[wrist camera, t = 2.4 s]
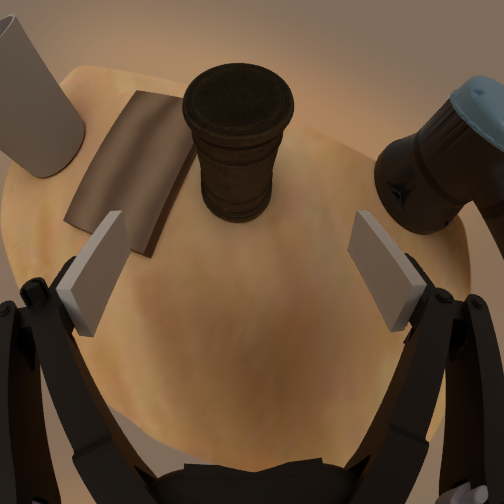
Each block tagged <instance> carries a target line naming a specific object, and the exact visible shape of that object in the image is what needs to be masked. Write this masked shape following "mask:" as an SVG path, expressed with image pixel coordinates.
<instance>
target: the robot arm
mask: <svg viewBox="0 0 504 504" xmlns="http://www.w3.org/2000/svg"><path fill="white" fill-rule="evenodd" d="M374 174H375V184H376V188H377V191H378V194H379V197H380V199H381V201H382V203H383V205H384V206H385V208H386V209H387V211H388V212H389V214H390V215H391V216H392V217H393V218H394V219H395V220H396V221H397V222H398V223H399V224H400V225H401V226H403V227H404V228H406V229H407V230H409V231H411V232H414V233H417V234H423V235H427V234H432V233H435V232H437V231H439V230H442V229H443V228H445V227H446V226H448V225H449V224H450V223H451V221H452V220H453V219H454V217H455V216H456V215H457V214H458V213H459V211H460V210H461V209H462V207H463V206H464V205H465V204H467V203H468V202H470V201H472V200H473V201H474V203H475V205H476V206H477V208H478V210H479V211H480V213H481V215H482V217H483V219H484V220H485V222H486V224H487V226H488V228H489V230H490V232H491V234H492V236H493V238H494V240H495V242H496V244H497V246H498V248H499V250H500V253H501V255H502V257H503V259H504V86H503V85H502V84H500V83H499V82H497V81H495V80H493V79H491V78H488V77H486V76H474V77H471V78H470V79H468V80H467V81H466V82H465V83H464V84H463V85H462V86H461V87H460V88H459V89H457V90H455V91H453V92H452V94H451V96H450V98H449V99H448V100H447V102H446V103H445V104H444V105H443V106H442V107H441V108H440V109H439V110H438V111H437V112H436V113H435V114H434V115H433V117H432V118H431V119H430V120H429V121H428V122H427V123H426V124H425V125H424V126H423V127H422V128H421V129H420V130H419V131H418V132H417V133H415V134H412V135H410V136H408V137H405V138H403V139H399V140H396V141H394V142H392V143H391V144H389V145H388V146H387V147H386V148H385V149H384V150H383V152H382V153H381V154H380V155H379V157H378V159H377V161H376V165H375V173H374ZM348 252H349V253H350V255H351V257H352V259H353V261H354V262H355V264H356V266H357V268H358V270H359V272H360V273H361V275H362V277H363V279H364V281H365V283H366V285H367V286H368V288H369V290H370V292H371V294H372V296H373V298H374V300H375V302H376V304H377V306H378V308H379V310H380V312H381V314H382V316H383V318H384V320H385V322H386V324H387V326H388V328H389V330H390V332H396V331H402V330H404V329H405V327H406V325H407V323H408V322H410V324H411V326H412V328H411V330H410V332H409V333H408V335H407V337H406V339H405V340H404V342H403V343H404V344H405V346H404V349H403V352H402V354H401V357H400V360H399V362H398V365H397V367H396V370H395V372H394V375H393V377H392V380H391V382H390V385H389V387H388V389H387V392H386V394H385V396H384V398H383V401H382V403H381V405H380V407H379V409H378V411H377V413H376V415H375V417H374V419H373V421H372V423H371V425H370V427H369V429H368V431H367V433H366V435H365V437H364V439H363V441H362V442H361V444H360V446H359V448H358V449H357V451H356V452H355V454H354V455H353V456H352V458H351V459H350V460H349V461H348V463H347V464H346V466H345V467H344V468H342V467H339V466H335V465H331V464H324V463H323V462H322V458H316V459H309V460H302V461H294V462H288V463H285V464H282V465H279V466H276V467H272V468H269V469H266V470H262V471H259V472H247V471H242V470H237V469H233V468H228V467H224V466H220V465H200V464H184V469H182V470H177V471H174V472H170V473H168V474H165V475H163V476H161V477H159V478H157V477H156V476H155V474H154V473H153V472H152V471H151V470H150V468H149V467H148V466H147V465H146V464H145V463H144V462H143V460H142V459H141V458H140V457H139V456H138V454H137V453H136V451H135V450H134V448H133V447H132V445H131V444H130V442H129V441H128V439H127V438H126V436H125V435H124V433H123V431H122V430H121V428H120V427H119V425H118V423H117V422H116V420H115V418H114V417H113V415H112V413H111V412H110V410H109V408H108V407H107V405H106V403H105V401H104V399H103V397H102V396H101V394H100V392H99V390H98V388H97V386H96V384H95V382H94V380H93V378H92V376H91V374H90V372H89V370H88V368H87V366H86V364H85V361H84V359H83V357H82V355H81V353H80V350H79V348H78V346H77V343H76V341H75V338H74V337H73V335H72V332H73V329H74V327H75V329H76V330H77V332H78V334H79V336H86V337H94V334H95V332H96V329H97V327H98V324H99V322H100V319H101V317H102V314H103V312H104V310H105V307H106V305H107V302H108V300H109V298H110V296H111V293H112V291H113V289H114V287H115V284H116V282H117V280H118V278H119V276H120V273H121V271H122V269H123V267H124V265H125V263H126V261H127V259H128V257H129V255H130V253H131V250H130V246H129V242H128V237H127V232H126V228H125V223H124V218H123V212H122V210H121V211H110V212H109V213H108V215H107V216H106V217H105V218H104V220H103V221H102V222H101V224H100V225H99V226H98V228H97V229H96V230H95V232H94V233H93V234H92V236H91V237H90V238H89V240H88V241H87V243H86V244H85V245H84V247H83V248H82V250H81V251H80V253H79V254H78V255H77V256H73V257H72V258H71V259H69V260H68V261H67V262H66V263H65V264H64V266H63V267H62V269H61V271H60V272H59V273H58V276H56V278H55V279H54V281H53V282H52V284H51V285H50V287H49V288H48V286H47V284H46V282H45V280H44V279H43V278H41V277H37V278H33V279H30V280H29V281H27V282H26V283H25V284H24V285H23V286H22V288H21V289H20V295H21V297H22V299H23V301H24V303H25V305H26V306H27V307H23V308H17V306H16V305H15V303H14V302H13V301H5V302H3V303H1V304H0V504H61V497H60V493H59V489H58V485H57V481H56V477H55V473H54V469H53V465H52V460H51V456H50V451H49V446H48V440H47V434H46V428H45V421H44V412H43V404H42V392H41V375H40V364H41V368H42V371H43V374H44V377H45V380H46V384H47V387H48V390H49V393H50V395H51V398H52V401H53V404H54V406H55V409H56V411H57V414H58V416H59V419H60V421H61V424H62V426H63V428H64V431H65V433H66V435H67V437H68V439H69V442H70V444H71V446H72V448H73V450H74V455H73V456H72V460H73V463H74V465H75V467H76V469H77V471H78V473H79V475H80V477H81V478H82V480H83V482H84V484H85V485H86V487H87V489H88V490H89V492H90V493H91V495H92V497H93V499H94V500H95V502H96V503H97V504H405V502H406V500H407V498H408V496H409V494H410V492H411V490H412V488H413V486H414V484H415V482H416V479H417V477H418V475H419V472H420V470H421V467H422V465H423V462H424V460H425V457H426V455H427V452H428V448H429V442H428V441H426V434H427V431H428V428H429V425H430V422H431V419H432V416H433V412H434V409H435V406H436V402H437V398H438V395H439V391H440V387H441V383H442V379H443V374H444V370H445V377H446V410H445V431H444V444H443V454H442V462H441V469H440V478H439V497H438V499H437V500H436V502H435V504H504V373H503V367H502V362H501V357H500V352H499V347H498V343H497V339H496V335H495V331H494V327H493V323H492V319H491V316H490V312H489V309H488V306H487V304H486V302H485V301H484V300H483V299H482V298H481V297H480V296H477V295H475V294H469V295H468V296H467V298H466V300H465V301H464V302H462V301H457V300H454V298H453V296H452V295H451V294H450V293H449V292H448V291H446V290H445V289H442V288H436V287H435V286H434V284H433V283H432V281H431V280H430V279H429V277H428V276H427V275H426V273H425V272H423V269H422V268H421V267H419V264H418V263H417V262H416V260H415V259H414V258H413V257H411V256H410V255H409V254H407V253H403V252H402V250H401V249H400V248H399V247H398V245H397V244H396V243H395V242H394V240H393V239H392V238H391V237H390V235H389V234H388V233H387V232H386V230H385V229H384V228H383V227H382V226H381V224H380V223H379V222H378V221H377V220H376V218H375V217H374V216H373V215H372V214H371V213H370V211H369V210H357V211H356V216H355V221H354V225H353V230H352V234H351V239H350V243H349V247H348Z"/></svg>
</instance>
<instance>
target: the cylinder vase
mask: <svg viewBox="0 0 504 504" xmlns="http://www.w3.org/2000/svg"><path fill="white" fill-rule="evenodd" d="M84 130H85V128H84V122H83V120H82V118H81V117H80V115H79V114H78V112H77V111H76V110H75V108H74V107H73V105H72V104H71V102H70V101H69V100H68V98H67V97H66V95H65V94H64V92H63V91H62V89H61V88H60V86H59V85H58V83H57V82H56V80H55V79H54V77H53V76H52V74H51V73H50V71H49V70H48V68H47V67H46V65H45V64H44V62H43V61H42V59H41V57H40V56H39V54H38V53H37V51H36V49H35V48H34V46H33V45H32V43H31V41H30V40H29V38H28V36H27V35H26V33H25V31H24V30H23V28H22V26H21V24H20V23H19V21H18V19H17V17H16V16H15V14H10V15H8V16H6V17H4V18H2V19H1V20H0V150H1V151H2V152H4V153H5V154H6V155H7V156H9V157H10V158H11V159H12V160H14V161H15V162H16V163H17V164H19V165H20V166H21V167H22V168H24V169H25V170H26V171H28V172H29V173H30V174H32V175H33V176H35V177H41V178H42V177H48V176H51V175H53V174H55V173H57V172H58V171H60V170H61V169H63V168H64V167H65V166H66V165H67V164H68V163H69V162H70V161H71V160H72V158H73V157H74V156H75V154H76V153H77V151H78V149H79V148H80V146H81V143H82V140H83V137H84Z"/></svg>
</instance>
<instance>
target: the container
mask: <svg viewBox="0 0 504 504" xmlns="http://www.w3.org/2000/svg"><path fill="white" fill-rule="evenodd" d="M182 112H183V116H184V119H185V122H186V123H187V125H188V127H189V128H190V129H191V131H192V139H193V142H194V145H195V146H196V150H197V154H198V158H199V162H200V167H201V191H202V196H203V200H204V202H205V204H206V205H207V207H208V208H209V209H210V211H211V212H212V213H214V214H215V215H216V216H218V217H220V218H222V219H224V220H227V221H230V222H246V221H249V220H252V219H254V218H255V217H257V216H258V215H259V214H261V213H262V212H263V211H264V209H265V208H266V207H267V205H268V203H269V201H270V198H271V192H272V175H273V172H272V169H273V166H274V162H275V158H276V155H277V151H278V147H279V145H280V144H281V141H282V137H283V131H284V129H285V128H286V127H287V125H288V124H289V122H290V120H291V118H292V116H293V112H294V100H293V96H292V93H291V90H290V88H289V86H288V85H287V84H286V83H285V81H284V80H283V79H282V78H281V77H279V76H278V75H277V74H275V73H274V72H272V71H270V70H268V69H266V68H264V67H261V66H257V65H253V64H245V63H231V64H224V65H220V66H216V67H214V68H211V69H209V70H207V71H205V72H203V73H201V74H200V75H199V76H197V77H196V78H195V79H194V80H193V81H192V82H191V84H190V85H189V86H188V88H187V90H186V92H185V94H184V98H183V103H182Z"/></svg>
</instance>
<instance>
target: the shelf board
mask: <svg viewBox="0 0 504 504" xmlns="http://www.w3.org/2000/svg"><path fill="white" fill-rule="evenodd" d="M182 103H183V98H180V97H174V96H169V95H163V94H157V93H151V92H145V91H138V90H136V92H135V93H134V95H133V96H132V97H131V99H130V100H129V102H128V103H127V105H126V106H125V108H124V109H123V110H122V112H121V113H120V115H119V117H118V118H117V120H116V121H115V123H114V124H113V126H112V127H111V129H110V131H109V132H108V134H107V136H106V137H105V139H104V141H103V142H102V144H101V146H100V147H99V149H98V151H97V153H96V154H95V156H94V158H93V160H92V162H91V164H90V165H89V167H88V169H87V171H86V173H85V175H84V177H83V179H82V181H81V183H80V185H79V187H78V189H77V191H76V193H75V195H74V197H73V200H72V202H71V204H70V206H69V208H68V211H67V213H66V215H65V218H64V220H63V221H65V222H66V223H68V224H70V225H72V226H73V227H75V228H78V229H80V230H82V231H85V232H87V233H90V234H93V233H94V232H95V230H96V229H97V228H98V226H99V225H100V224H101V222H102V221H103V220H104V218H105V217H106V216H107V215H108V213H109V212H110V211H121V210H122V212H123V218H124V223H125V228H126V232H127V237H128V242H129V246H130V250H131V251H133V252H136V253H138V254H141V255H143V256H146V257H149V258H151V257H152V254H153V251H154V249H155V246H156V244H157V241H158V239H159V236H160V234H161V232H162V229H163V227H164V224H165V222H166V220H167V217H168V215H169V213H170V210H171V208H172V206H173V203H174V201H175V199H176V197H177V194H178V192H179V190H180V188H181V186H182V183H183V181H184V179H185V177H186V175H187V173H188V171H189V169H190V166H191V164H192V162H193V160H194V158H195V156H196V154H197V150H196V146H195V145H194V142H193V139H192V131H191V129H190V128H189V127H188V125H187V123H186V122H185V119H184V116H183V112H182Z"/></svg>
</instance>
